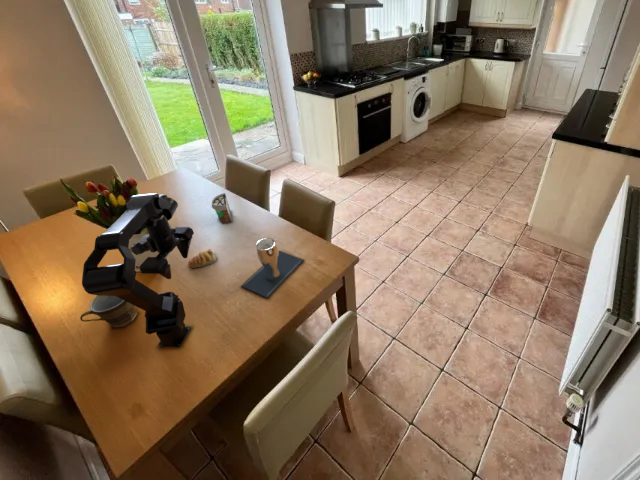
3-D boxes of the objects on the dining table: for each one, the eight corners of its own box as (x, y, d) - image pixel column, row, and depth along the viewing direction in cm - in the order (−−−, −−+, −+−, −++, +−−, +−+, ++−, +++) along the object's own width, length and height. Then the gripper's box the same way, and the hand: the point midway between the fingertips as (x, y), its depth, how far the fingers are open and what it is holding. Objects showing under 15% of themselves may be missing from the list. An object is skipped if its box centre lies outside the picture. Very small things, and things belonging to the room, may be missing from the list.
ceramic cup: (137, 300, 107) (124, 280, 102) (147, 316, 102) (134, 296, 96) (89, 326, 99) (72, 306, 93) (98, 346, 93) (81, 325, 88)
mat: (267, 298, 108) (267, 297, 108) (241, 286, 112) (241, 285, 112) (303, 260, 124) (303, 259, 123) (279, 251, 128) (279, 250, 128)
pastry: (191, 272, 118) (187, 265, 116) (187, 262, 122) (184, 255, 120) (217, 261, 123) (214, 254, 121) (213, 252, 127) (210, 245, 125)
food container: (216, 212, 150) (210, 195, 145) (230, 209, 152) (225, 192, 147) (216, 227, 141) (210, 209, 136) (231, 224, 143) (225, 206, 138)
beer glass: (260, 273, 117) (252, 242, 109) (278, 264, 121) (271, 234, 113) (268, 284, 113) (259, 253, 105) (286, 275, 116) (279, 244, 108)
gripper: (152, 212, 102) (170, 248, 110) (109, 251, 86) (133, 290, 95) (186, 212, 102) (201, 248, 110) (149, 252, 86) (170, 290, 95)
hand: (177, 267), depth 102 cm, fingers open, 9 cm apart
